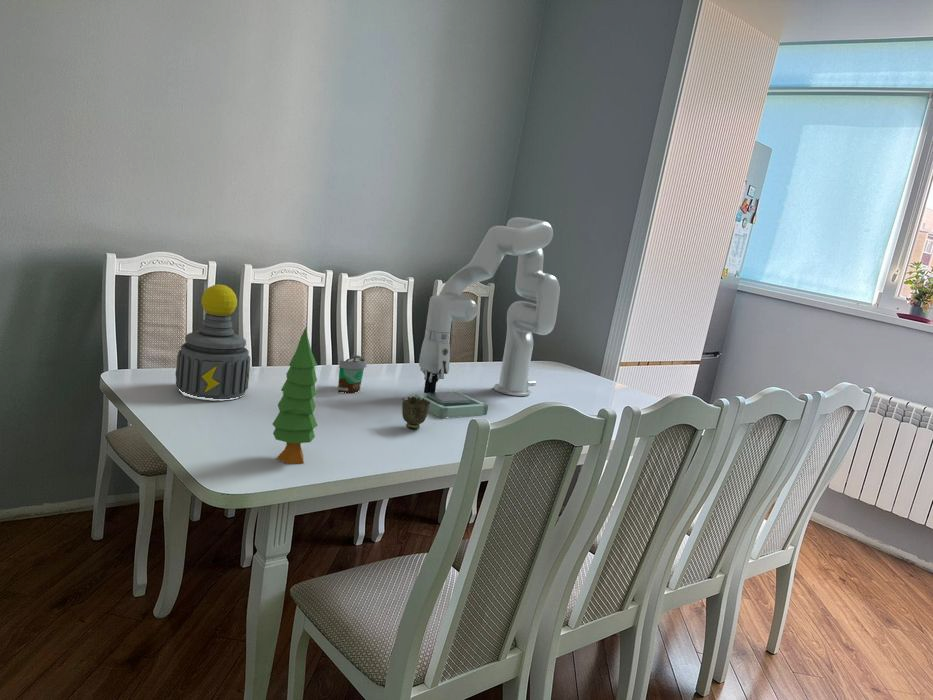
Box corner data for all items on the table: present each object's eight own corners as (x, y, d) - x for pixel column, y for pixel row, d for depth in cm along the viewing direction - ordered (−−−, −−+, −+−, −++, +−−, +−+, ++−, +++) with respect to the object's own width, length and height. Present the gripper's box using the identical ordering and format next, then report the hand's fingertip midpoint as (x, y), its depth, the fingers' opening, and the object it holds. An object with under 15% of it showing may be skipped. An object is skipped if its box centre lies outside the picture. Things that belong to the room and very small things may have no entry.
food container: (355, 397, 219) (359, 364, 217) (335, 393, 220) (339, 360, 218) (368, 388, 231) (372, 357, 229) (350, 385, 232) (354, 354, 230)
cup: (412, 422, 202) (416, 394, 201) (431, 430, 198) (436, 402, 196) (393, 426, 196) (396, 397, 195) (412, 434, 192) (417, 405, 191)
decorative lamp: (247, 386, 214) (257, 284, 208) (246, 404, 196) (256, 293, 190) (178, 380, 208) (187, 276, 203) (170, 399, 191) (179, 285, 185)
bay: (456, 400, 232) (458, 391, 232) (486, 414, 222) (488, 405, 221) (413, 403, 221) (414, 394, 221) (442, 418, 211) (444, 408, 210)
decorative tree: (277, 467, 156) (292, 329, 150) (261, 452, 163) (275, 320, 158) (320, 463, 162) (335, 330, 156) (302, 449, 169) (317, 321, 164)
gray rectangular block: (451, 405, 227) (453, 391, 226) (467, 414, 220) (469, 399, 219) (424, 407, 221) (426, 392, 220) (440, 415, 214) (442, 400, 213)
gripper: (461, 341, 223) (453, 399, 226) (432, 330, 234) (424, 386, 237) (442, 341, 218) (434, 401, 222) (413, 330, 229) (405, 387, 233)
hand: (429, 393), depth 230 cm, fingers closed
